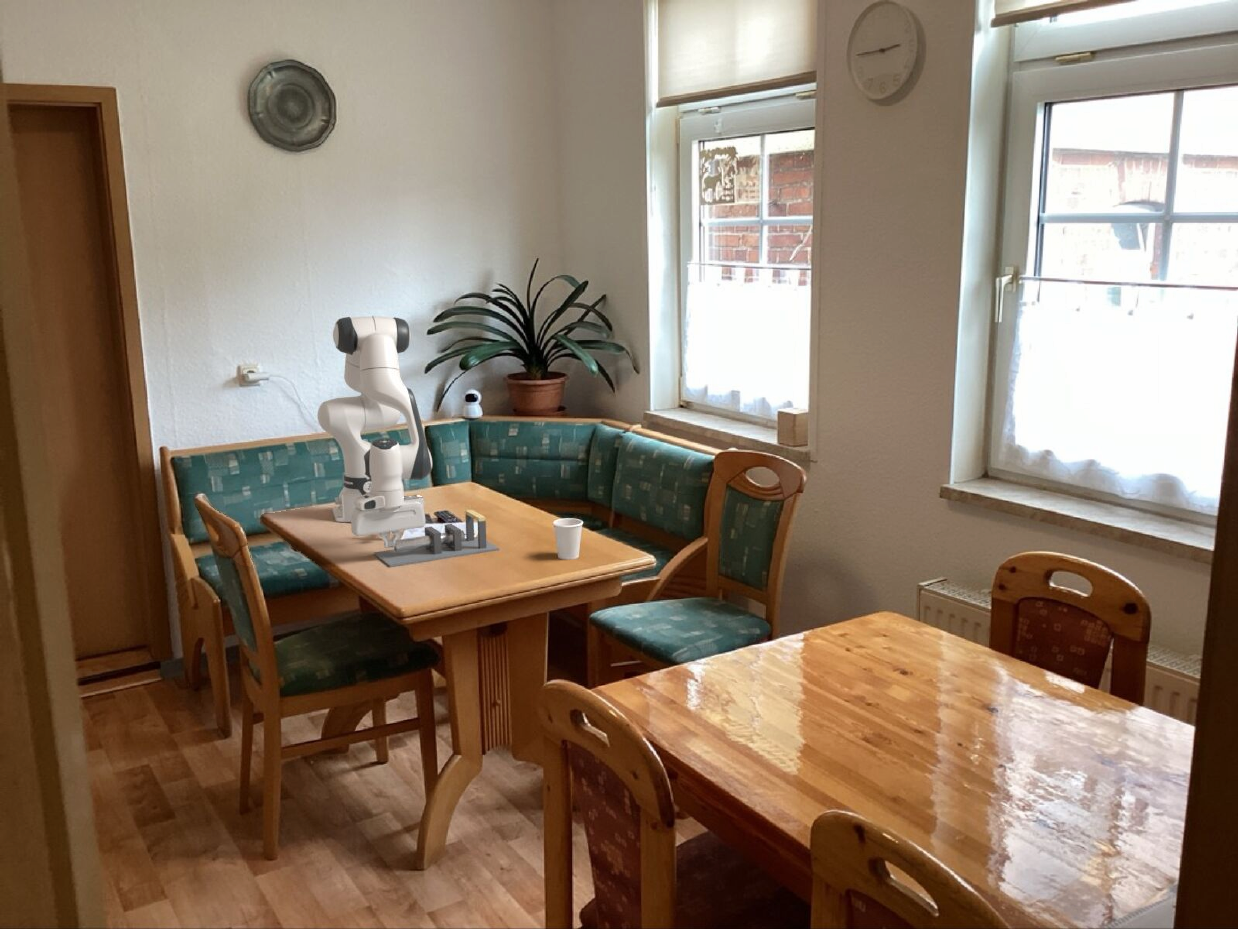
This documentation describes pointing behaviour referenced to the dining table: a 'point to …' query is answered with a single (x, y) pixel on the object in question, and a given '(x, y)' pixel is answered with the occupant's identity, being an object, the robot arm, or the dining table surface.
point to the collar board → (446, 550)
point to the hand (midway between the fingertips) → (390, 546)
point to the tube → (424, 541)
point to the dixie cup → (568, 537)
